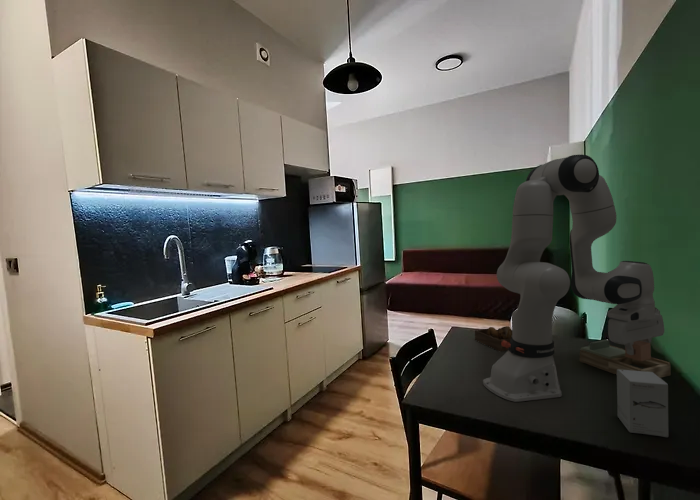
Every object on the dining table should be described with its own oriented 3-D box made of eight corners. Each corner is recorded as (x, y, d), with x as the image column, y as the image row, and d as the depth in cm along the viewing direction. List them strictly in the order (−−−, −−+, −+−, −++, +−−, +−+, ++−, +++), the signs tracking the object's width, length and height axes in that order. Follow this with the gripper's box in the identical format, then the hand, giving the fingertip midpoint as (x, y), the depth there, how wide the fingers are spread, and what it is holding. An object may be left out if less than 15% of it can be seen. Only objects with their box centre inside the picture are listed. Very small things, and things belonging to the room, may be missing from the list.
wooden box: (639, 383, 100) (639, 370, 99) (579, 361, 118) (579, 350, 118) (670, 375, 103) (670, 362, 103) (608, 355, 122) (608, 344, 122)
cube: (640, 361, 103) (640, 345, 103) (625, 356, 108) (624, 341, 107) (650, 358, 105) (650, 343, 104) (635, 354, 109) (634, 339, 109)
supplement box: (629, 433, 77) (628, 380, 76) (616, 416, 84) (615, 368, 83) (670, 438, 74) (669, 384, 73) (653, 420, 81) (652, 370, 80)
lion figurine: (516, 347, 134) (515, 326, 134) (507, 350, 132) (506, 328, 131) (487, 338, 147) (486, 319, 147) (478, 341, 145) (477, 321, 145)
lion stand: (500, 351, 131) (499, 340, 131) (475, 340, 146) (474, 330, 146) (515, 348, 133) (515, 337, 133) (489, 337, 148) (489, 328, 148)
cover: (609, 359, 110) (609, 349, 109) (581, 349, 119) (580, 341, 119) (631, 354, 112) (630, 345, 112) (601, 345, 122) (601, 337, 122)
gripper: (647, 304, 111) (648, 344, 112) (603, 312, 106) (604, 354, 106) (670, 308, 105) (671, 350, 106) (624, 317, 100) (626, 361, 100)
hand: (637, 352), depth 106 cm, fingers closed on cube, 4 cm apart
